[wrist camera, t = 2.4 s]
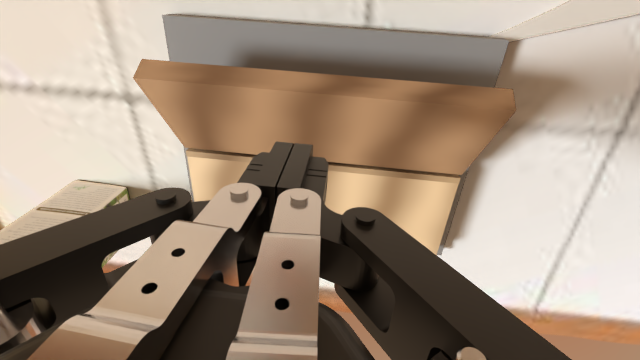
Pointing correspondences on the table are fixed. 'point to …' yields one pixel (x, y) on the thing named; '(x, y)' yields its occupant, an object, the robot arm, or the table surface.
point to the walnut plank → (327, 114)
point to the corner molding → (571, 17)
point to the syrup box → (66, 208)
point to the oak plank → (351, 190)
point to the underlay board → (337, 54)
